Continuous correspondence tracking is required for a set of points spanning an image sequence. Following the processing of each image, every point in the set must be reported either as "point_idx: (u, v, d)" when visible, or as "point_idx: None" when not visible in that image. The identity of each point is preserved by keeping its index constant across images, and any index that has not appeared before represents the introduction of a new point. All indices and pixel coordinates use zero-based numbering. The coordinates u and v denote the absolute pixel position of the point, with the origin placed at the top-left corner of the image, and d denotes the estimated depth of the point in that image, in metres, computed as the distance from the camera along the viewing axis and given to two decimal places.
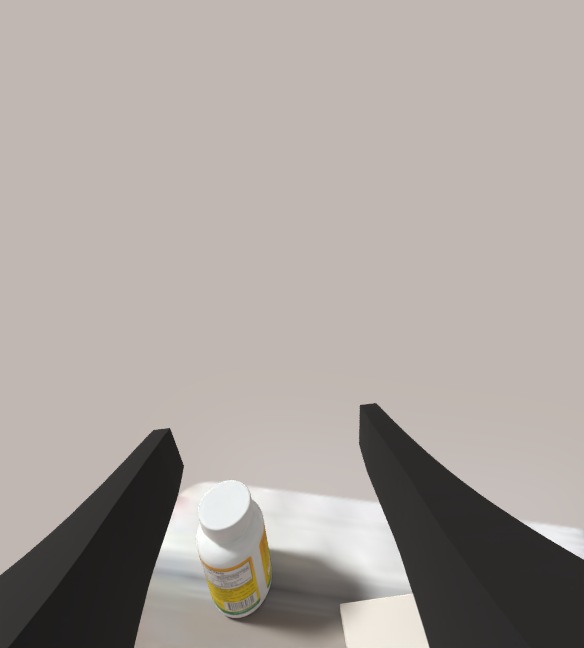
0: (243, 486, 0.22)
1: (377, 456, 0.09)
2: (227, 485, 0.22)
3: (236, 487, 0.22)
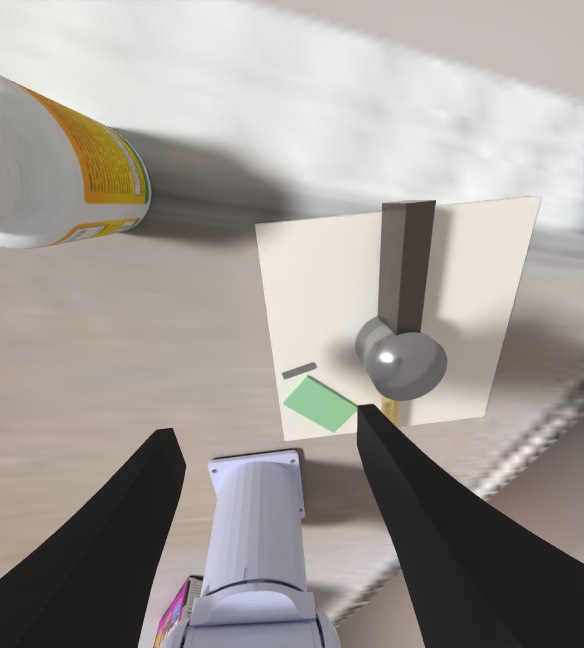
0: None
1: (374, 456, 0.09)
2: None
3: None
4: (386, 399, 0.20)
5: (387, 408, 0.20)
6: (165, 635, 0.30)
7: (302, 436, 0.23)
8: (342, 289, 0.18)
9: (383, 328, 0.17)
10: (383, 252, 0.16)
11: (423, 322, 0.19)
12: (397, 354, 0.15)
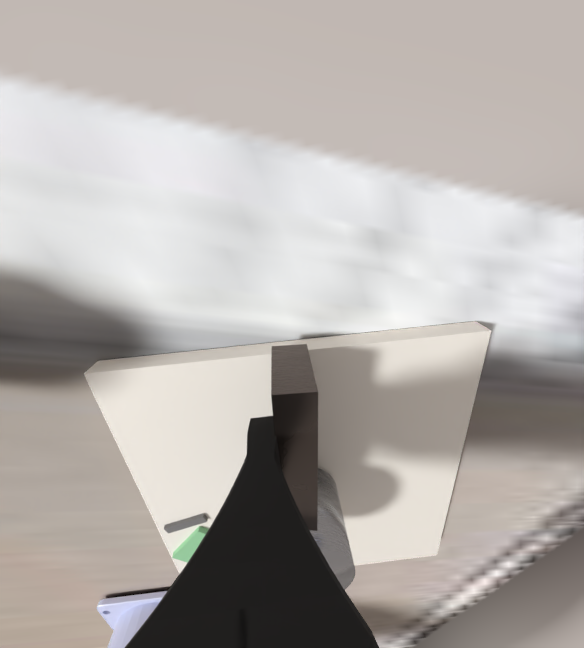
0: None
1: None
2: None
3: None
4: None
5: None
6: None
7: None
8: (227, 439, 0.13)
9: None
10: None
11: (344, 469, 0.14)
12: None
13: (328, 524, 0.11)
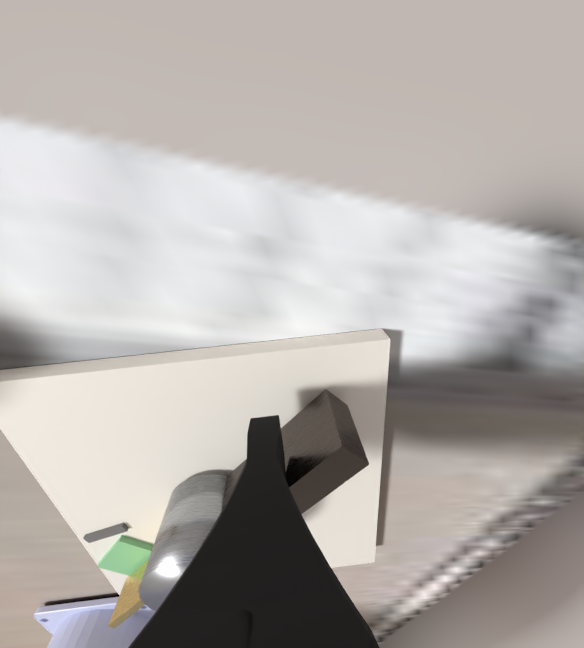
0: None
1: None
2: None
3: None
4: None
5: None
6: None
7: None
8: (133, 449, 0.13)
9: (214, 511, 0.12)
10: (284, 434, 0.12)
11: None
12: None
13: None
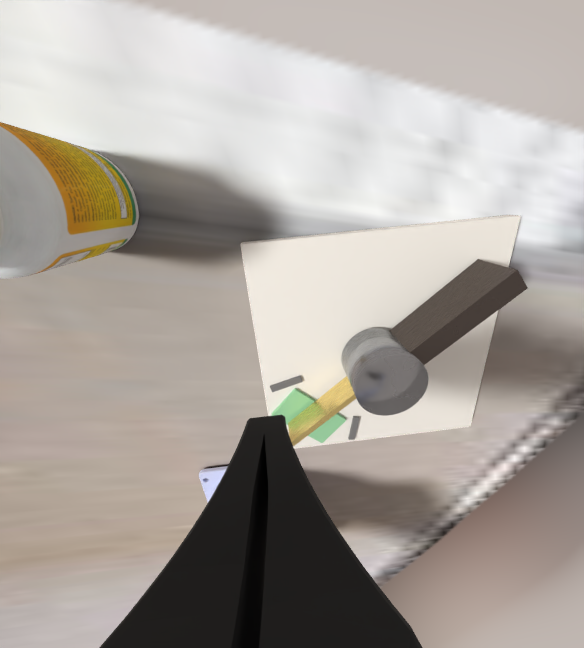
0: None
1: None
2: None
3: None
4: (329, 398, 0.19)
5: (324, 406, 0.19)
6: None
7: None
8: (327, 305, 0.18)
9: (396, 341, 0.17)
10: (446, 290, 0.17)
11: None
12: (400, 366, 0.16)
13: None
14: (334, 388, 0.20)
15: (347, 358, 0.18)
